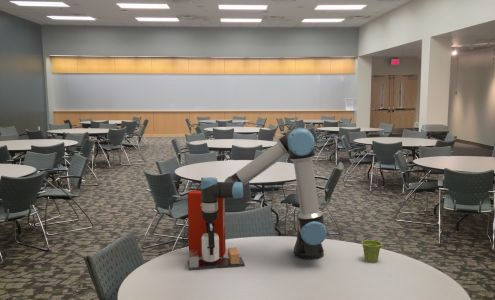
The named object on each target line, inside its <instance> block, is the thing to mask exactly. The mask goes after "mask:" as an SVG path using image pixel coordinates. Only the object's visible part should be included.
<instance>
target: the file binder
mask: <svg viewBox="0 0 495 300" xmlns="http://www.w3.org/2000/svg"><path fill="white" fill-rule="evenodd" d="M217 200H218V210H217V211H218V219H216V220H213V222H214V224H215V227H214V233H217V234H218V236H219V258H225V254H227V253H226V251H227V250H226V248H227V247H226V198H218V199H217ZM200 204H202V200H201V190H189V191H188V192H187V225H188V226H187V234H188V238H187V239H188V251H189V250H197V252H198V258H200V257H201V258H202V236H203V234H205V233H206V224H205V223H206V221H205V220H203V219H202V206H200Z"/></svg>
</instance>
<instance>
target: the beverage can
mask: <svg viewBox="0 0 495 300" xmlns="http://www.w3.org/2000/svg"><path fill="white" fill-rule="evenodd" d="M214 244H215V248H214V258H215V261H216V260H218V259H219V258H220V257H219V236H218V234H217V233H214ZM208 246H209V242H208V234H207V233H205V234H203V236H202V257H201V259H203V260H204V261H207V262H209V257H208V248H207V247H208ZM212 262H213V261H212Z"/></svg>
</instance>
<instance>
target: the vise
mask: <svg viewBox="0 0 495 300" xmlns="http://www.w3.org/2000/svg"><path fill="white" fill-rule="evenodd" d="M245 264H246V263H245V262H244V260H243V257H242V256H239V264H231V263H230V260H229V258H228V257H219V259H218V260H216V261H213V262H207V261H204V260H203V259H202V258H201V259H199V257H198V252H197V250H189V249H188V260H187V265H188V266H187V267H188V271H197V270H198V271H199V270H213V269H226V268H243V267H246V265H245Z"/></svg>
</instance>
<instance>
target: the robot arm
mask: <svg viewBox="0 0 495 300" xmlns="http://www.w3.org/2000/svg"><path fill="white" fill-rule="evenodd" d="M315 143H316V142H315V138H314V135H313V134H312V132H311V130H308V129H307V128H305V127H302V126H294V127H293V128H291V129H290V130H288V131H287V132H286V133H285V134H283V136H281V137H280V138H278V140H277V143H275V144H274V145H273V146H271V147H270V148H268V149H267V150H265V151H264V152H263V153H261V154H260V155H258V156H257V157H256V158H254V159H253V160H252V161H250V162H249V163H247V164H246V165H244V166H243V167H242V168H239V170H238V171H236V172H235V173H233V174H232V175H230V176H228V177H227V178H225V180H224V181H223V182H222V181H218V178H217V177H215V176H213V177H202V179H201V181H200V182H201V185H200V191H201V200H202V204H200V206H202V219H203V220H205V221H206V223H205V224H206V233H207V234H208V242H209V246H208V247H207V248H208V257H209V262H212V261H215V258H214V248H215V244H214V227H215V224H214V222H213V220H216V219H218V211H217V210H218V200H217V199H218V198H225V199H242V198H243V197H244V186H246V184H248V183H250V182H251V181H252V180H254V179H256V178H257V177H258V176H259V175H261V174H262V173H264V172H265V171H267V170H268V169H270V168H271V167H272V166H274V165H275V164H277V163H278V162H280V161H281V160H282V159H284V158H285V157H286V156H288V157H289V160H290V161H291V162H292V163H293V168H294V174H295V180H296V187H297V195H298V196H297V197H298V202H299V209H298V210H297V211H296V240H295V241H296V242H295V244H294V247H293V252H292V254H293V256H294V257H296V258H298V259H302V260H318V259H322V258H323V257H324V255H325V253H324V252H325V250H324V247H323V242H324V241H325V240H326V238H327V235H328V234H327V233H328V232H327V231H328V230H327V227H326V226H325V219H324V213H323V212H322V211H321V210H320V206H319V199H318V191H317V184H316V178H315V177H316V176H315V170H314V163H313V160H314V158H315V157H316V154H315V153H316V152H315Z"/></svg>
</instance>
